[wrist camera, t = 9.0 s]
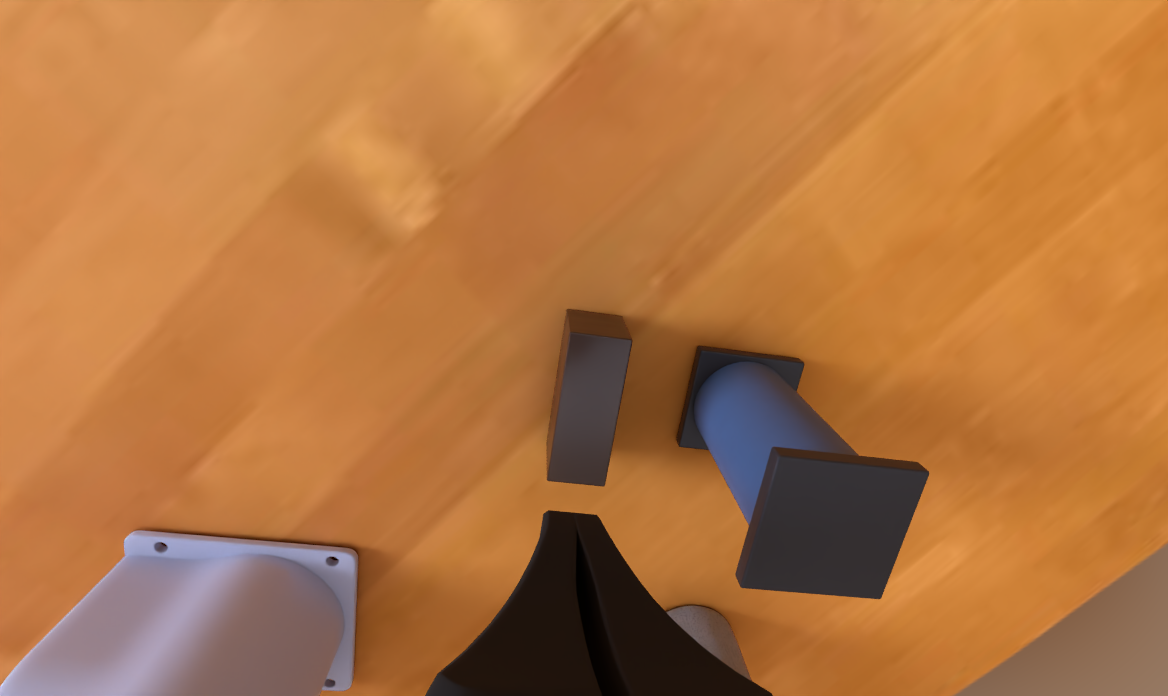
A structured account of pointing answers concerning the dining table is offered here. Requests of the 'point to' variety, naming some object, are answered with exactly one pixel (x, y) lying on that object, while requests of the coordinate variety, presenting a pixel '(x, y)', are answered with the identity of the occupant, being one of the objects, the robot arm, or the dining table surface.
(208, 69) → the dining table surface
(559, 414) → the block
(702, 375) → the spool
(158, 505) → the dining table surface
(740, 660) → the grey hollow cylinder
